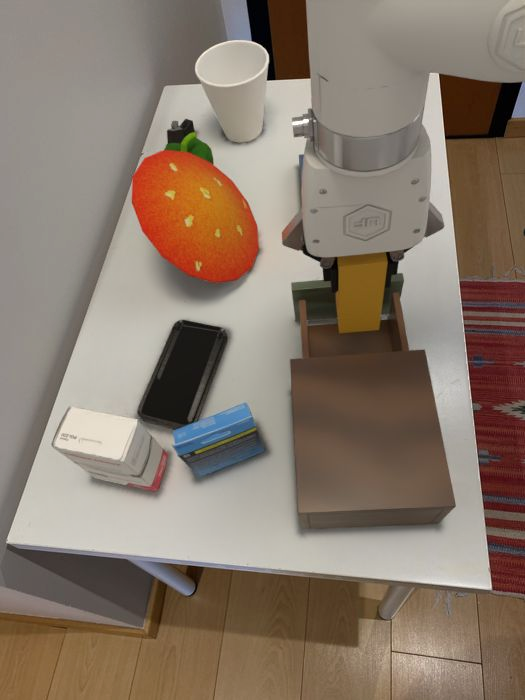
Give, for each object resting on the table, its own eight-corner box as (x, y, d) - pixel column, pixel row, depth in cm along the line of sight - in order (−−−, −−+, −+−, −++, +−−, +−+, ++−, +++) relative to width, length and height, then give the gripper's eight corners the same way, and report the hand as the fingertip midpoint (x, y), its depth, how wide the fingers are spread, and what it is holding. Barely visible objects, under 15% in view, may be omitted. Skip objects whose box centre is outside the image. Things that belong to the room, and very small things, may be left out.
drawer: (294, 307, 70) (290, 274, 64) (394, 298, 69) (401, 264, 62) (301, 422, 62) (297, 398, 56) (415, 415, 61) (425, 389, 54)
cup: (226, 103, 95) (212, 36, 84) (286, 112, 91) (279, 43, 81) (200, 146, 90) (182, 80, 79) (262, 157, 87) (252, 90, 76)
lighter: (185, 148, 94) (184, 117, 91) (195, 149, 93) (195, 118, 91) (163, 154, 87) (162, 121, 84) (174, 155, 86) (174, 122, 84)
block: (374, 297, 59) (381, 225, 48) (379, 330, 56) (387, 262, 46) (335, 300, 59) (334, 230, 49) (339, 333, 57) (338, 267, 47)
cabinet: (295, 392, 65) (289, 358, 57) (413, 384, 64) (425, 349, 56) (302, 529, 57) (297, 513, 49) (438, 524, 56) (456, 506, 48)
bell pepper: (178, 216, 82) (159, 167, 74) (166, 183, 86) (147, 133, 78) (227, 199, 83) (214, 149, 74) (213, 167, 87) (200, 115, 78)
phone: (228, 328, 69) (190, 430, 63) (229, 333, 70) (192, 433, 64) (175, 318, 71) (133, 415, 65) (177, 322, 72) (136, 418, 66)
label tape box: (255, 424, 64) (240, 383, 53) (267, 454, 62) (253, 417, 51) (189, 450, 63) (160, 414, 52) (199, 481, 61) (170, 450, 50)
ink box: (171, 452, 63) (139, 418, 53) (158, 492, 61) (122, 465, 51) (108, 440, 65) (65, 404, 55) (93, 478, 63) (46, 449, 52)
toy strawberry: (152, 306, 74) (113, 237, 61) (176, 201, 84) (147, 122, 71) (252, 307, 72) (234, 236, 59) (265, 199, 82) (252, 117, 69)
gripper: (248, 176, 35) (277, 317, 51) (504, 145, 33) (451, 301, 49) (248, 106, 39) (275, 258, 55) (478, 74, 37) (437, 241, 53)
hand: (358, 277), depth 52 cm, fingers closed on block, 4 cm apart
